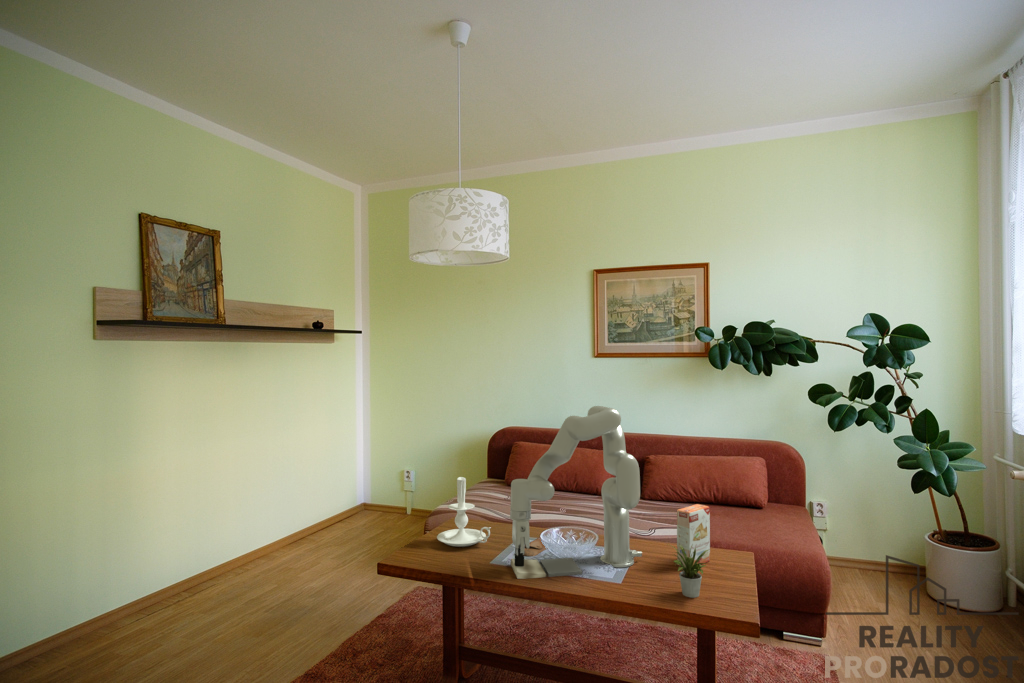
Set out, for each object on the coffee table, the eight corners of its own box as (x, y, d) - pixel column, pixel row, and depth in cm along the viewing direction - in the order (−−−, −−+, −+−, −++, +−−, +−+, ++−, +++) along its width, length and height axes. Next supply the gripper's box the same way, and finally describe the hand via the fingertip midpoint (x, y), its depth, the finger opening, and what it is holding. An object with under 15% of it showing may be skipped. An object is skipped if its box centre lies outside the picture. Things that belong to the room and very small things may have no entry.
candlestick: (477, 556, 220) (477, 485, 221) (427, 547, 231) (426, 479, 232) (503, 541, 238) (502, 475, 239) (455, 533, 250) (454, 470, 251)
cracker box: (690, 570, 204) (689, 512, 204) (676, 565, 208) (675, 509, 209) (711, 561, 212) (710, 506, 213) (697, 557, 217) (696, 503, 218)
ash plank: (539, 565, 209) (539, 559, 209) (547, 579, 196) (548, 573, 196) (510, 564, 208) (511, 558, 208) (517, 578, 194) (517, 572, 194)
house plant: (658, 596, 181) (657, 545, 182) (671, 582, 193) (670, 534, 193) (702, 607, 173) (701, 553, 174) (714, 591, 185) (713, 541, 185)
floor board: (571, 563, 211) (571, 557, 212) (582, 577, 198) (582, 571, 198) (540, 565, 209) (540, 559, 209) (548, 579, 196) (548, 573, 196)
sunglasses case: (534, 561, 214) (526, 544, 216) (520, 567, 217) (512, 551, 219) (554, 547, 229) (547, 532, 231) (541, 553, 232) (534, 538, 234)
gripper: (535, 519, 195) (533, 573, 194) (526, 508, 210) (525, 558, 209) (513, 520, 194) (512, 573, 193) (507, 509, 209) (505, 558, 208)
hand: (519, 565), depth 201 cm, fingers closed
